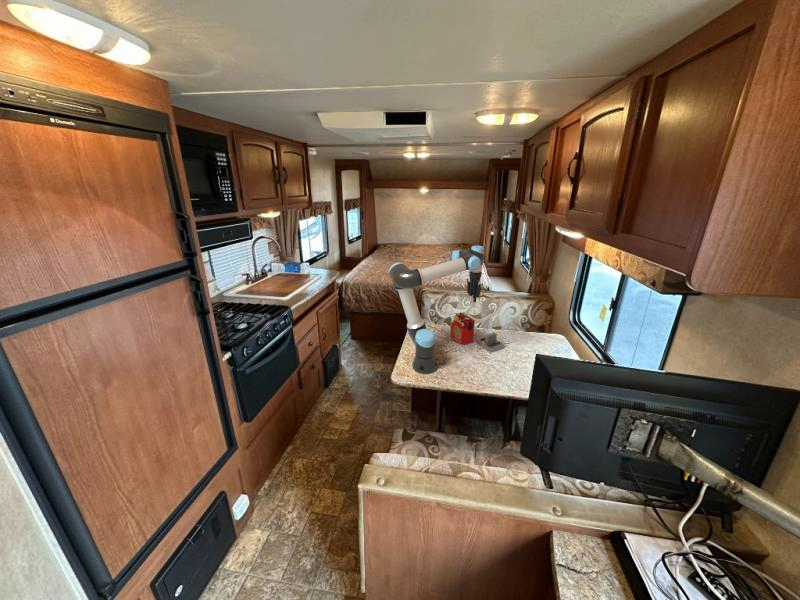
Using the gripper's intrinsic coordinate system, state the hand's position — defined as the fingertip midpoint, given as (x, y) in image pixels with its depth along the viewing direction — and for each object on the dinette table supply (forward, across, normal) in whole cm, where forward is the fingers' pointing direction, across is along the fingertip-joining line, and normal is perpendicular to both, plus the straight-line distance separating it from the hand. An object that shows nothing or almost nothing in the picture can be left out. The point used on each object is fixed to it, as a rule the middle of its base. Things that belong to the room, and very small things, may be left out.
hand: (472, 305), depth 199 cm
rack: (+32, -4, -16) cm, 36 cm away
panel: (+31, -4, -16) cm, 35 cm away
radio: (+32, +12, -4) cm, 35 cm away
